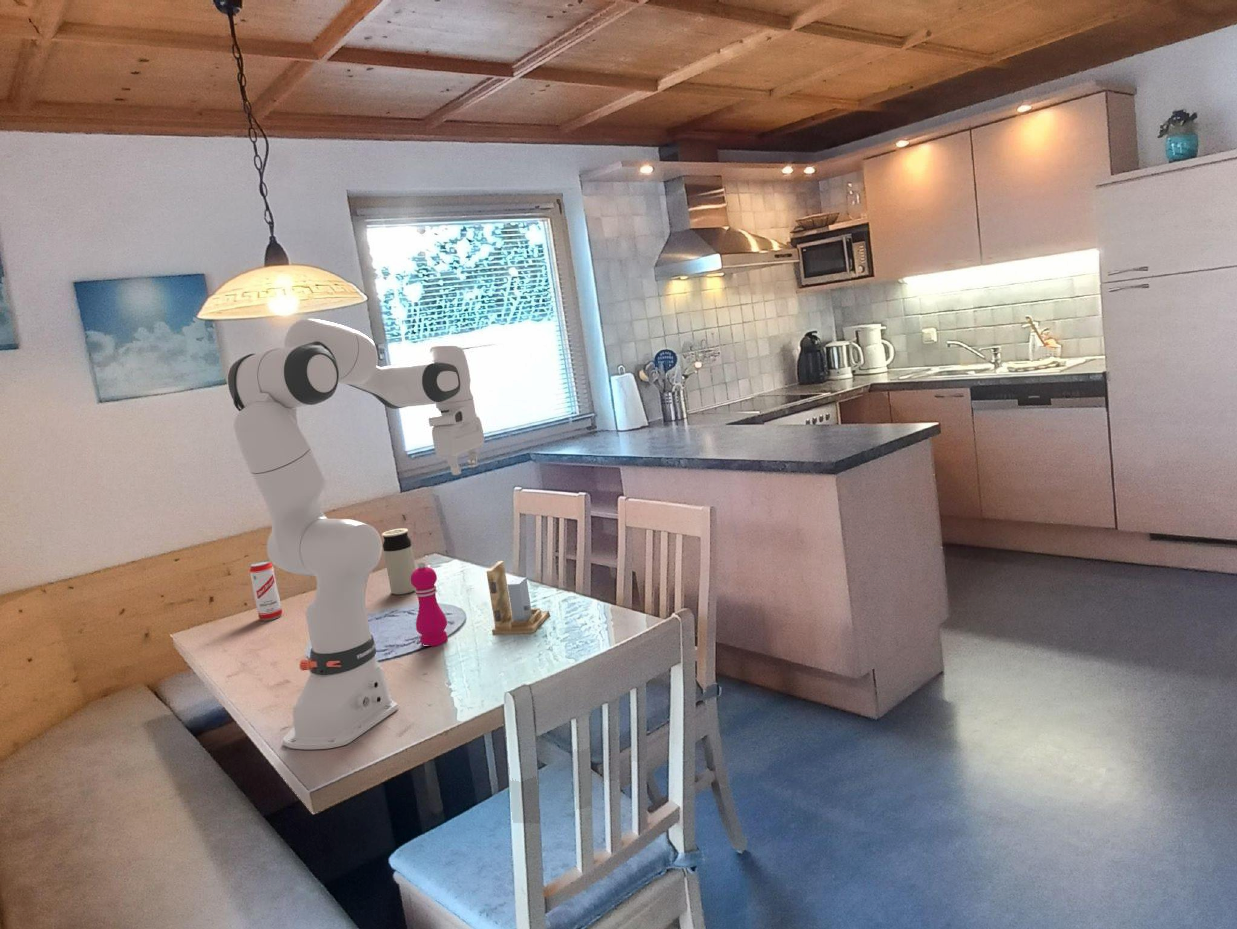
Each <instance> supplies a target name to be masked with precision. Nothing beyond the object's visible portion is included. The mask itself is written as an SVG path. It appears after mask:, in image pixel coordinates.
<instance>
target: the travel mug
mask: <svg viewBox="0 0 1237 929" xmlns="http://www.w3.org/2000/svg"><path fill="white" fill-rule="evenodd" d="M408 532H409V529H408V528H403V527H402V528H393V529H390V530H387V531H384V532H382V533H381V536H382V537H383V539H384V541H383V542H382V550H383V553H384V554H383V555H384V559H385V564H386V570H387V577H388V582H389V589H390V593H391V594H393V595H396V596H398V595H399V596H400V595H406V594H410V593H413V592H415V589H416V588H415V587H414V586H413V585H412V584H411V575H412V573H413V572H414V571H415V570H416V569H417V567H416V563H415V556H414V551H413V546H412V540H411V538H410V537H409V536H408Z"/></svg>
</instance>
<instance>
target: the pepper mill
mask: <svg viewBox="0 0 1237 929" xmlns="http://www.w3.org/2000/svg"><path fill="white" fill-rule="evenodd" d="M437 579H438V577H437V572H436V571H435V569H433V568H432V567H429V566H426V562H425V561H422V560H421V561H420V560H419V561H418V562H417V568H416V570H415V571H414V572H413V573H412V575H411V584H412V585H413V586H414V587H415V588H416V589H415V591H414V592H415V597H417V601H418V611H417V616H416V619H415V620H416V621H415V627H416V628H415V629H416V631H417V633H418V634H419V635H421V636H420V637H419V641H420V645H421V644H424V645H429V646H433V647H438V646H440V644H441V645H443V644H444V643H446V642H447V641H448V633H447V631H445V630H446V628H447V627H448V621H447V617H446V615H445V613H444V611H443V610H442V608H441V607H440V605H439V602H438V601H437V598H436V597H437V595H436V593H437V592H438V590H437V585H435V584H436V582H437Z"/></svg>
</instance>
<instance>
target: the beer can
mask: <svg viewBox="0 0 1237 929" xmlns="http://www.w3.org/2000/svg"><path fill="white" fill-rule="evenodd" d="M249 575H250V580H251V586H252V590H253V595H254V600H255V605H256V610H257V615H258V618H259V619H260V620H262V621H265V622H267V621H273V620H276V619H278V618H280V617H281V615H282V614H283V609H282V604H281V598H280V594H279V588H278V583H277V579H276V574H275V569H274V565H273V563H272V562H271V561H270V560H261V561H256V562H254V563H251V564H250V569H249Z"/></svg>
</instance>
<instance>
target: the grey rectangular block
mask: <svg viewBox="0 0 1237 929" xmlns="http://www.w3.org/2000/svg"><path fill="white" fill-rule="evenodd" d="M507 587H508V593H509V600H510V607H511V612H512V618H513V621H528V620H529V619H530V618H531V617H532V612H531V609H532V606H531V600H530V593H529V586H528V579H527V577H514V578H513V579H512V580H511V581H510V582H508V583H507Z"/></svg>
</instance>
